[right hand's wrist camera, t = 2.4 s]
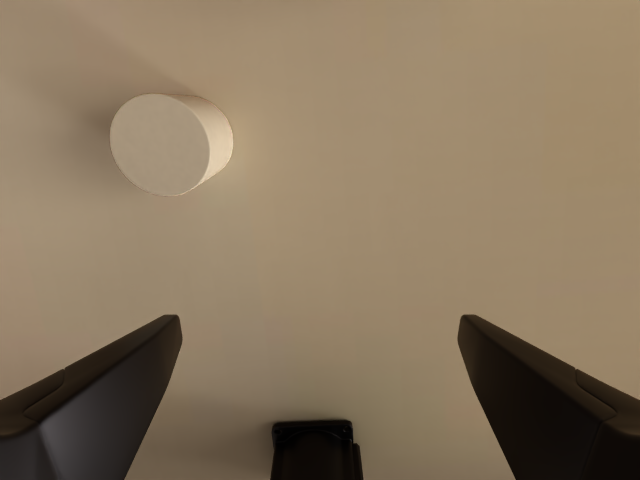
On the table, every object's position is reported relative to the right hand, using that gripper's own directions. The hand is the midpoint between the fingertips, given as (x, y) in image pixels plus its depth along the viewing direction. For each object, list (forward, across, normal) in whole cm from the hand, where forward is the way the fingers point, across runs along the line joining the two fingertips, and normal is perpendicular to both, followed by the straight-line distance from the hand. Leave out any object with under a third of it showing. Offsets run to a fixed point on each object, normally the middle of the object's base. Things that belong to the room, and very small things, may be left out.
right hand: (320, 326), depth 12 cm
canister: (+13, +8, -5) cm, 16 cm away
